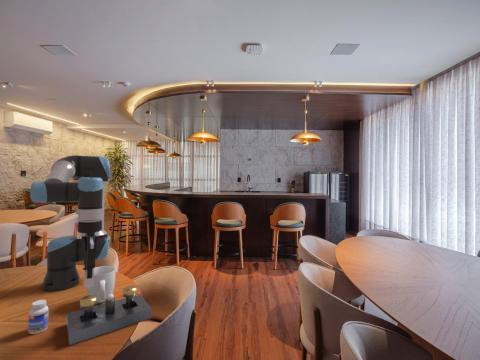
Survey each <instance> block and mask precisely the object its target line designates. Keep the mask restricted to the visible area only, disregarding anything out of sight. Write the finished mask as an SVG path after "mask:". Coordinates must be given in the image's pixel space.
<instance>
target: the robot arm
mask: <svg viewBox="0 0 480 360" xmlns="http://www.w3.org/2000/svg"><path fill="white" fill-rule="evenodd" d="M111 172H112V171H111V166H110V159H109V158H108V157H105V156H98V155H97V156H95V155H94V156H93V155H79V154H77V155H76V154H75V155H68V156H65V157H62V158H59V159H57V160H55V162H54V163H53V164H52V165H51V167H50V172H49V174H48V175H47V177H46V179H45V180H44V181H41V180H40V181H34V182H33V183H31V185H30V191H29V193H30V194H29V195H30V196H29V197H30V200H31V202H33V203H42V204H47V203H74V202H75V203H77V205H78V206H77V211H75V215H77V220H78V222H77V227H76V228H77V232H78V233H79V234H81V238H77V236H76V235H65V236H62V237H56V238H53V239H52V240H50V241H49V242H47V243H48V244H47V250H46V258H47V259H46V260H47V261H46V273H45V275H44V277H43V280H42V283H41V289H42V290H43V291H45V292H58V291H63V290H67V289H70V288H73V287H74V286H76V285H77V286H78V284H79V283H80V281H81V280H80V277H81V276H80V274H79V272H78V269H77V263H80V262H81V263H82V262H83V264H84V265H83V266H84V267H83V268H82V270H83V271H84V274H83V275H84V276H83V277H84V278H83V280H84V281H83V287H84V289H87V287H92V286H94V268H96V261H98V260H101V259H102V260H103V259H106V258H107V256H108V253H109V248H110V240H111V236H110V235H108V232H107V231H106V230H105V194H106V192H105V191H106V185H107V184H108V183H109V180H111V179H112V173H111ZM71 179H78V181H75V182H74V181H70V180H71Z"/></svg>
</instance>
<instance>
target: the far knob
mask: <svg viewBox="0 0 480 360" xmlns="http://www.w3.org/2000/svg"><path fill="white" fill-rule="evenodd" d="M136 295H138V286H137V285H126V286H125V287H123V288H122V297H123V298H126V305H127V306H130V305H133V304H134V296H136Z"/></svg>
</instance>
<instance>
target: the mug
mask: <svg viewBox="0 0 480 360" xmlns="http://www.w3.org/2000/svg"><path fill="white" fill-rule="evenodd" d="M115 286H116V268H115V267H114V266H113V265H111V266H110V265H102V266H101V265H100V266H97V267H96V266H95V268H94V286H92V287H87V288H86V291H87V294H88V295H96V296H97V304H104V303H105V300H106V299H107V295H108V294H114V293H113V292H114V290H115ZM88 295H87V296H88Z"/></svg>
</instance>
